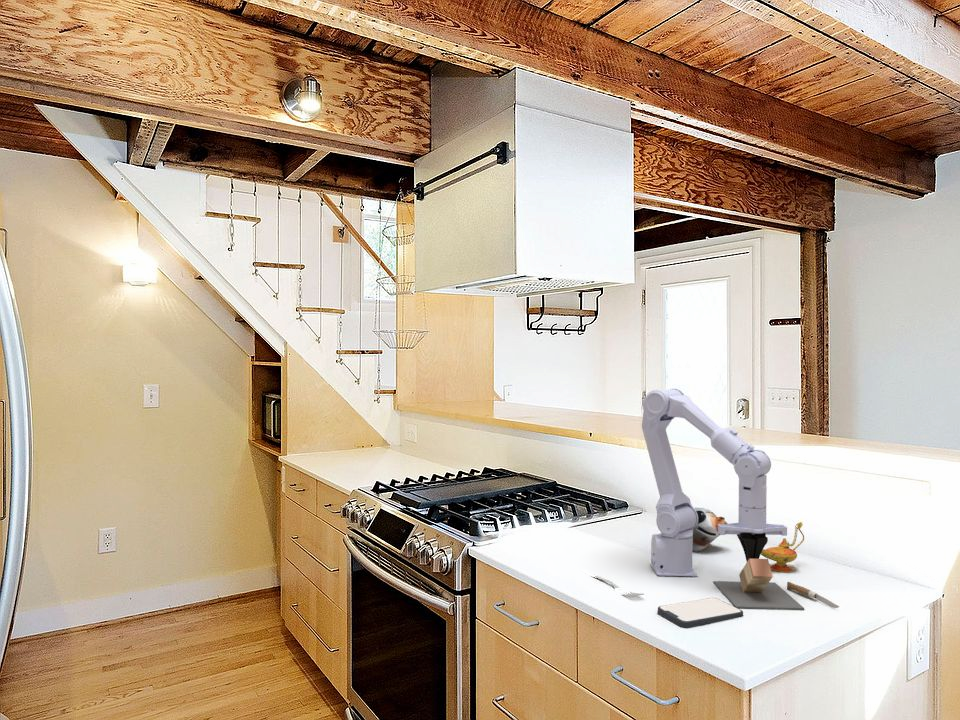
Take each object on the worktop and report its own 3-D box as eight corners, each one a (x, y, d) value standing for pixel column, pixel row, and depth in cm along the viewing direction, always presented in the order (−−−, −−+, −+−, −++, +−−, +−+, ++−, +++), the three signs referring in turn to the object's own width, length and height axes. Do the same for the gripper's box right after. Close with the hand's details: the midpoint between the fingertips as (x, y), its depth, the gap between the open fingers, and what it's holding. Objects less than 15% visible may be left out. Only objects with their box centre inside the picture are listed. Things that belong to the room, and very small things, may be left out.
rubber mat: (735, 608, 139) (736, 606, 139) (713, 582, 154) (713, 581, 154) (804, 610, 139) (804, 608, 139) (774, 584, 154) (774, 582, 154)
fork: (580, 567, 165) (580, 560, 165) (645, 601, 144) (645, 593, 144) (569, 569, 164) (569, 561, 164) (633, 603, 142) (634, 595, 142)
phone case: (714, 603, 143) (654, 613, 137) (714, 596, 143) (654, 606, 137) (746, 619, 135) (684, 631, 129) (746, 611, 135) (684, 622, 129)
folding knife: (842, 611, 139) (842, 602, 139) (836, 612, 138) (837, 603, 138) (789, 589, 151) (790, 580, 151) (784, 590, 151) (784, 581, 151)
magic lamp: (737, 569, 164) (738, 524, 164) (792, 560, 171) (793, 518, 170) (758, 578, 157) (759, 532, 157) (814, 569, 164) (815, 524, 164)
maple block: (743, 592, 148) (753, 576, 142) (739, 574, 150) (749, 558, 144) (761, 592, 147) (772, 576, 141) (757, 575, 150) (768, 558, 144)
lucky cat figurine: (704, 538, 190) (726, 500, 184) (715, 567, 179) (739, 528, 173) (655, 523, 189) (676, 484, 183) (663, 552, 178) (686, 512, 172)
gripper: (725, 509, 144) (724, 572, 145) (793, 510, 144) (792, 573, 144) (714, 502, 151) (714, 562, 152) (779, 503, 151) (779, 562, 151)
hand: (751, 566), depth 148 cm, fingers closed, pressing on maple block
